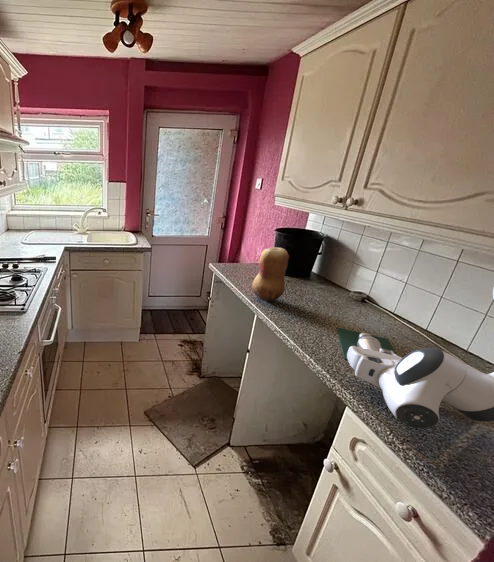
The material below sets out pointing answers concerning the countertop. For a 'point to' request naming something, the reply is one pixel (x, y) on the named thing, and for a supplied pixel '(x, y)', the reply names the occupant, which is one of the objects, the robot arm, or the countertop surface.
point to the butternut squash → (271, 274)
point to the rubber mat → (352, 337)
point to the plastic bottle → (368, 342)
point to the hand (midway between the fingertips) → (385, 351)
